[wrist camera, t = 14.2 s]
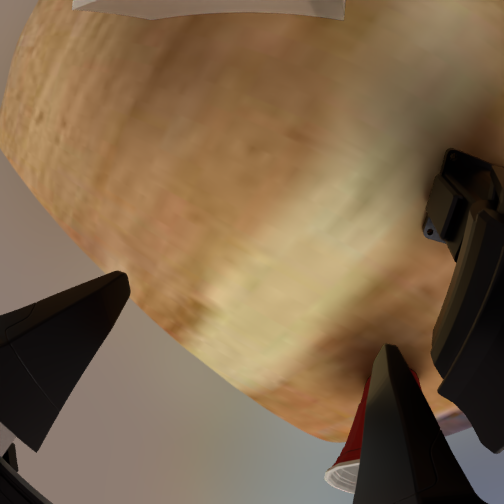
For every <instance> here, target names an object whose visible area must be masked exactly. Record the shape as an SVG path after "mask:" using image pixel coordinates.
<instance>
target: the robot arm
mask: <svg viewBox="0 0 504 504" xmlns="http://www.w3.org/2000/svg"><path fill="white" fill-rule="evenodd" d="M452 153H454V154H455V158H454V159H451V158H450V155H451V154H452ZM426 211H427V213H428V215H427V218H426V220H425V223H424V226H423V234H424V236H425V237H426V238H428V239H432V240H435V241H439V242H442V243H445V244H447V246H448V248H449V250H450V252H451V254H452V256H453V259H454V261H455V262H456V267H455V270H454V273H453V276H452V280H451V283H450V286H449V289H448V292H447V295H446V298H445V300H444V303H443V306H442V309H441V311H440V314H439V317H438V319H437V322H436V324H435V327H434V329H433V336H432V350H431V357H432V360H433V363H434V366H435V367H436V369H437V370H438V372H439V374H440V375H441V377H442V378H443V379H444V380H443V381H442V383H441V385H440V386H439V388H438V390H437V392H438V394H440V395H441V396H443V397H445V398H446V399H448V400H450V401H451V402H453V403H454V404H455V405H456V406H457V407H458V408H459V409H460V410H461V411H462V412H463V413H464V414H465V415H466V417H467V418H468V420H469V421H470V423H471V424H472V426H473V428H474V430H475V432H476V434H477V436H478V437H479V440H480V442H481V443H482V444H483V445H484V446H485V447H486V448H488V449H489V450H490V451H491V452H493V453H495V454H498V453H500V452H501V451H502V450H504V168H503V167H498V166H495V165H493V164H491V163H489V162H486V161H484V160H482V159H479V158H477V157H474V156H472V155H469V154H467V153H464V152H462V151H459V150H456V149H454V148H450V149H448V150H447V151H446V153H445V157H444V161H443V164H442V168H441V172H440V174H438V175H437V176H436V177H435V180H434V184H433V187H432V191H431V194H430V197H429V200H428V204H427V207H426ZM428 229H432V231H431V232H430V233H427V231H428ZM129 296H130V285H129V280H128V276H127V274H126V273H124V272H121V271H114V272H111V273H108V274H106V275H104V276H101V277H98V278H96V279H93V280H90V281H88V282H85V283H83V284H80V285H78V286H75V287H73V288H70V289H68V290H65V291H62V292H60V293H57V294H55V295H53V296H50V297H48V298H45V299H43V300H40V301H38V302H37V303H33V304H31V305H28V306H26V307H23V308H21V309H18V310H15V311H12V312H9V313H6V314H3V315H0V504H52V503H51V502H50V501H49V500H48V499H46V498H45V497H44V496H43V495H41V494H40V493H39V492H38V491H37V490H36V489H34V488H33V487H32V486H31V485H30V484H29V483H28V482H27V481H25V480H24V479H23V478H22V477H21V476H20V475H19V474H18V473H17V472H18V465H17V458H16V450H15V444H14V443H13V441H14V439H15V438H16V437H17V438H19V439H20V440H21V441H22V442H23V443H25V444H26V445H27V446H28V447H30V448H31V449H32V450H34V451H35V452H36V453H37V451H38V450H39V448H40V447H41V445H42V443H43V441H44V439H45V437H46V435H47V434H48V432H49V430H50V428H51V426H52V424H53V423H54V421H55V419H56V418H57V416H58V414H59V412H60V411H61V409H62V407H63V405H64V404H65V402H66V400H67V399H68V397H69V395H70V394H71V392H72V390H73V388H74V387H75V385H76V384H77V382H78V381H79V379H80V377H81V376H82V374H83V373H84V371H85V369H86V368H87V366H88V365H89V363H90V362H91V360H92V358H93V357H94V355H95V354H96V352H97V351H98V349H99V348H100V346H101V345H102V343H103V342H104V340H105V339H106V337H107V335H108V334H109V332H110V331H111V329H112V328H113V326H114V324H115V322H116V320H117V319H118V317H119V315H120V313H121V311H122V309H123V307H124V306H125V304H126V302H127V300H128V298H129ZM353 504H488V503H486V502H484V501H483V500H482V499H480V498H479V496H478V495H477V494H476V493H475V492H474V490H473V488H472V486H471V485H470V483H469V481H468V479H467V477H466V476H465V474H464V472H463V471H462V469H461V467H460V465H459V464H458V462H457V460H456V458H455V456H454V455H453V453H452V451H451V449H450V447H449V445H448V443H447V441H446V439H445V437H444V435H443V432H442V430H440V426H439V424H438V422H437V420H436V418H435V416H434V414H433V412H432V410H431V408H430V406H429V404H428V402H427V400H426V398H425V396H424V395H423V393H422V391H421V389H420V387H419V385H418V383H417V381H416V379H415V378H414V376H413V374H412V372H411V370H410V368H409V367H408V365H407V363H406V361H405V359H404V358H403V356H402V354H401V352H400V350H399V349H398V347H397V346H396V345H392V344H387V343H386V344H384V345H383V346H382V348H381V350H380V351H379V353H378V355H377V357H376V358H375V360H374V363H373V369H372V375H371V381H370V386H369V392H368V397H367V402H366V409H365V420H364V430H363V439H362V448H361V456H360V463H359V470H358V476H357V482H356V488H355V494H354V499H353Z"/></svg>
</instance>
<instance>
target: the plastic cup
mask: <svg viewBox="0 0 504 504" xmlns="http://www.w3.org/2000/svg"><path fill="white" fill-rule="evenodd" d="M410 370H411V369H410ZM411 372H412V374H413V376H414V378H415V379H416V381H417V383H418V385H419V387H420V389H421V386H420V382H419V378H418V377H417V375H416V373H415V372H414V371H412V370H411ZM370 381H371V376H370V377H369V378H368V380H367V383H366V384H365V388H364V392H363V396H362V399H361V403H360V404H359V406H358V410H357V413H356V416H355V419H354V422H353V425H352V428H351V430H350V433H349V436H348V439H347V442H346V444H345V447H344V448H343V450H342V452H341V454H340V456H339V457H338V458H337V461H336V463H335V464H334V465H333V466H332V467H331V468H329V469H328V470H327V471H326V473H325V478H324V479H325V480H326V481H327V482H328V483H329V484H330V485H331V486H333V487H335V488H337V489H340V490H342V491H344V492H348V493H353V494H355V488H356V482H357V476H358V470H359V463H360V456H361V448H362V439H363V430H364V420H365V409H366V402H367V397H368V392H369V386H370ZM421 391H422V390H421Z"/></svg>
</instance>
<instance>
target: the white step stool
mask: <svg viewBox="0 0 504 504" xmlns="http://www.w3.org/2000/svg"><path fill="white" fill-rule="evenodd" d="M345 1H346V0H73V5H72V10H79V11H92V12H102V13H111V14H118V15H125V16H132V17H138V18H143V19H148V20H156V19H162V18H170V17H177V16H186V15H197V14H210V13H235V12H257V13H282V14H295V15H306V16H315V17H323V18H330V19H336V20H343V21H344V13H345Z"/></svg>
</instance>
